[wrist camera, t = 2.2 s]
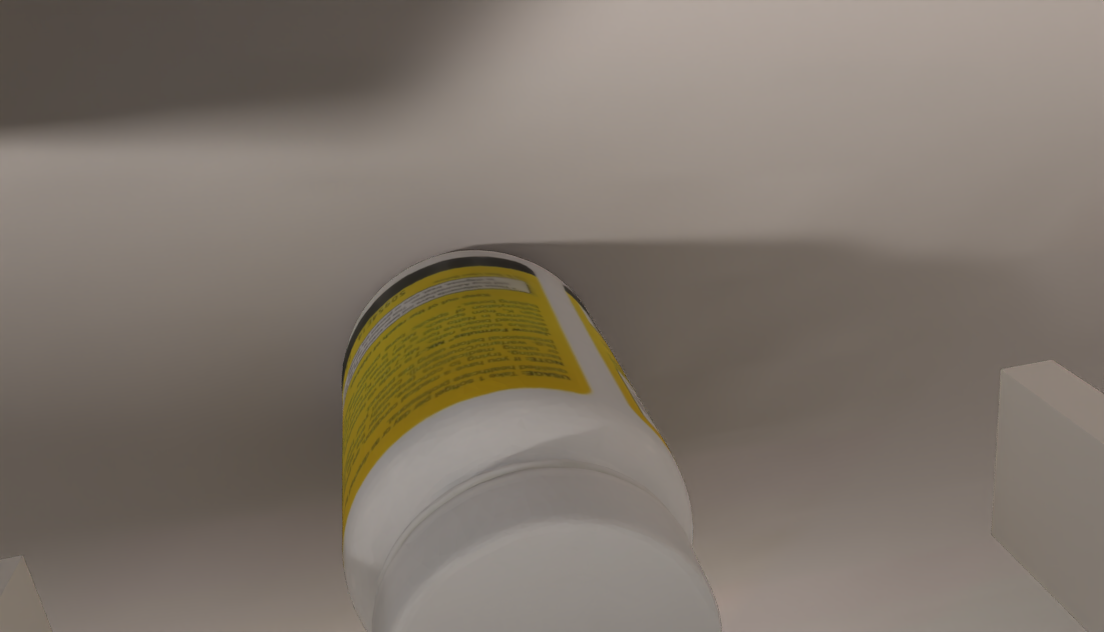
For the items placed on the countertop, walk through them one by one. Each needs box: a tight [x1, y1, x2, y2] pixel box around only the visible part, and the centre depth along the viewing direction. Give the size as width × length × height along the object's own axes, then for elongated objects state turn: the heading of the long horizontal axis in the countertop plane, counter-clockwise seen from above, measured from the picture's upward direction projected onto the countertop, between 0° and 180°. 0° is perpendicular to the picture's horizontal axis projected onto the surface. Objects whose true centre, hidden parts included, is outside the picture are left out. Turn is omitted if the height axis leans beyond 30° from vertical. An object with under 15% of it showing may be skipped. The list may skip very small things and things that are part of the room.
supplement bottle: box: [342, 250, 722, 632], centre depth 15 cm, size 5×5×8 cm
